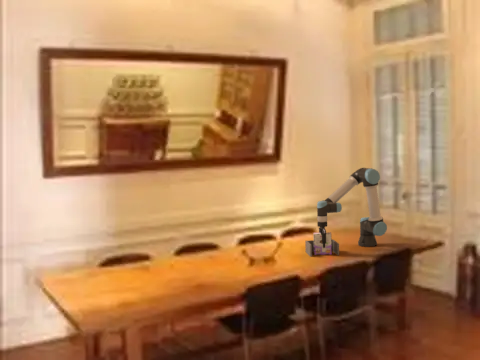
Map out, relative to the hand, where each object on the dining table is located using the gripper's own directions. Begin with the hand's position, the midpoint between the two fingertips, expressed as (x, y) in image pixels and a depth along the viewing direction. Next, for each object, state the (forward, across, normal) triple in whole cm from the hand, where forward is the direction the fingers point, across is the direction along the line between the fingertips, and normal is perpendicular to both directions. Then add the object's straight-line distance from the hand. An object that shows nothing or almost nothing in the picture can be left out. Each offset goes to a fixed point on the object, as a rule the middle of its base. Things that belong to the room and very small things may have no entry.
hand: (322, 250), depth 474 cm
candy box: (+3, 0, 0) cm, 3 cm away
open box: (+3, -2, 0) cm, 3 cm away
